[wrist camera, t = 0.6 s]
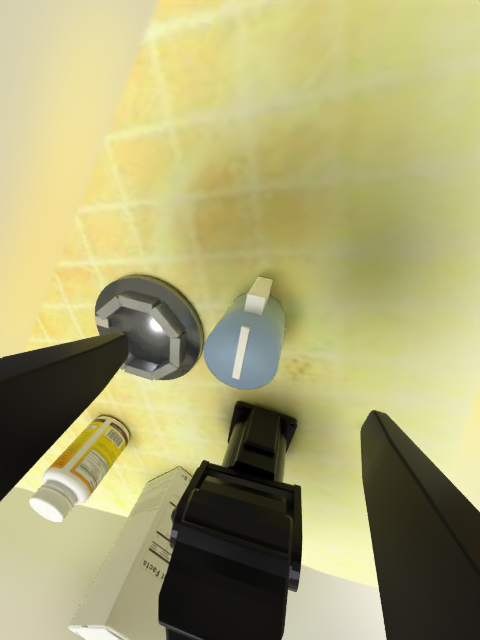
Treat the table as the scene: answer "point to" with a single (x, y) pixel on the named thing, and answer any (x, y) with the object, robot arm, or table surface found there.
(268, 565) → the robot arm
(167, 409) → the table surface
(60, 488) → the supplement bottle
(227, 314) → the knob
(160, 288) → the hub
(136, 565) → the supplement box
